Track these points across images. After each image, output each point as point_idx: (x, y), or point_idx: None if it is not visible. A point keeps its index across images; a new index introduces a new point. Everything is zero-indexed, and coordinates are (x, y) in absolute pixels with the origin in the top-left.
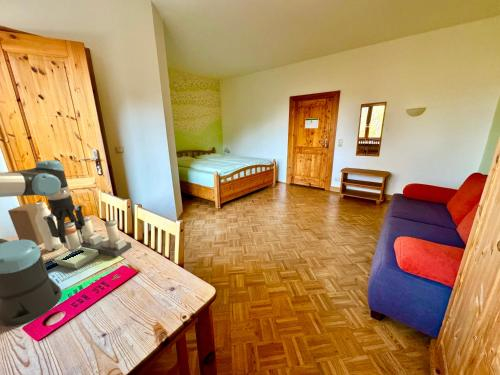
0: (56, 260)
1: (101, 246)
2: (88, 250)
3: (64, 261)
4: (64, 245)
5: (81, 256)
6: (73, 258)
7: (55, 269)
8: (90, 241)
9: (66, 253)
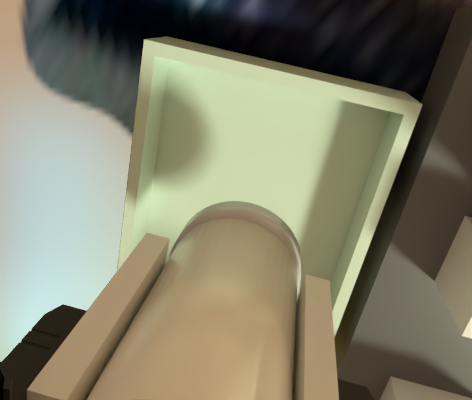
0: (143, 80)
1: (391, 364)
2: (346, 257)
3: (126, 201)
4: (128, 264)
5: (282, 215)
6: (247, 163)
7: (109, 107)
8: (469, 252)
9: (265, 81)
